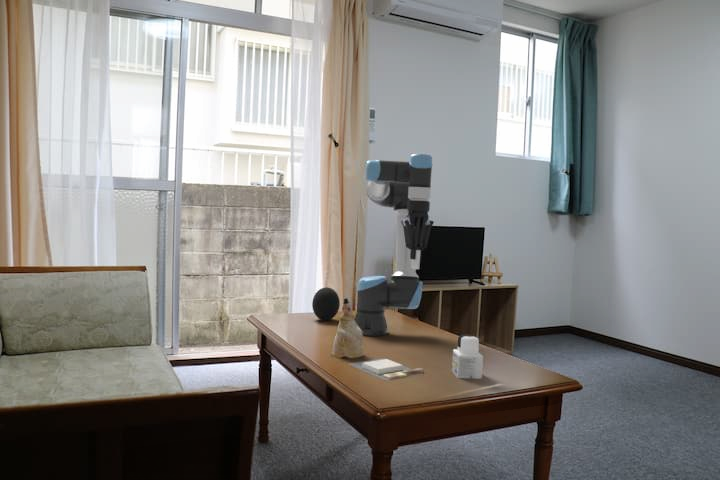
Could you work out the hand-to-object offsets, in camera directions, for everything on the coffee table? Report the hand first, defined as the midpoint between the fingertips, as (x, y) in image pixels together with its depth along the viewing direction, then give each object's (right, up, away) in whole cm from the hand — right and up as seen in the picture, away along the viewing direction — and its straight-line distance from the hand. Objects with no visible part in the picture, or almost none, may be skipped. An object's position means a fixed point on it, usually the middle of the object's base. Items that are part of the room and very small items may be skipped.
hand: (415, 268), depth 193 cm
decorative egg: (-35, -27, +62) cm, 76 cm away
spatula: (-6, -32, -20) cm, 38 cm away
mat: (-11, -32, -14) cm, 36 cm away
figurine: (-23, -31, +2) cm, 39 cm away
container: (+15, -33, -16) cm, 40 cm away
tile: (-8, -30, -11) cm, 33 cm away
